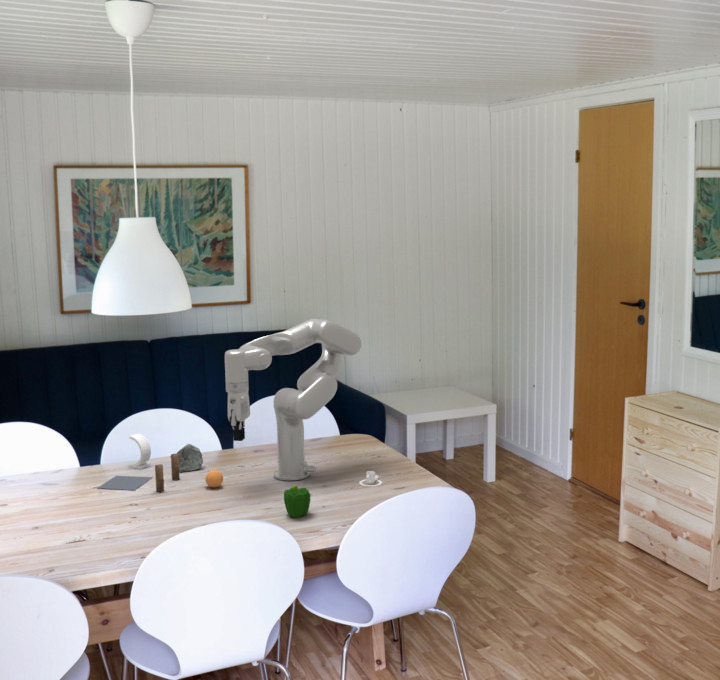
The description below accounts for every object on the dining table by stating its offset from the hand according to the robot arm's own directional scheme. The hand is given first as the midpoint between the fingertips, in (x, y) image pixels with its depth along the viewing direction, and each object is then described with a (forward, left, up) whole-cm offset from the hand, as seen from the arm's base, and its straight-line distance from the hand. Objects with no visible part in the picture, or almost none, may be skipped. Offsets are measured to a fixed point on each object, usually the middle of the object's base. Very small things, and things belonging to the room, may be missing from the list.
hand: (239, 439), depth 275 cm
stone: (+26, -19, -17) cm, 37 cm away
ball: (+10, 0, -14) cm, 17 cm away
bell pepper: (-26, +22, -17) cm, 38 cm away
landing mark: (+42, 0, -17) cm, 46 cm away
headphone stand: (+46, -19, -17) cm, 52 cm away
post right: (+26, -6, -17) cm, 32 cm away
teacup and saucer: (-46, -13, -18) cm, 51 cm away
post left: (+26, +7, -17) cm, 32 cm away
